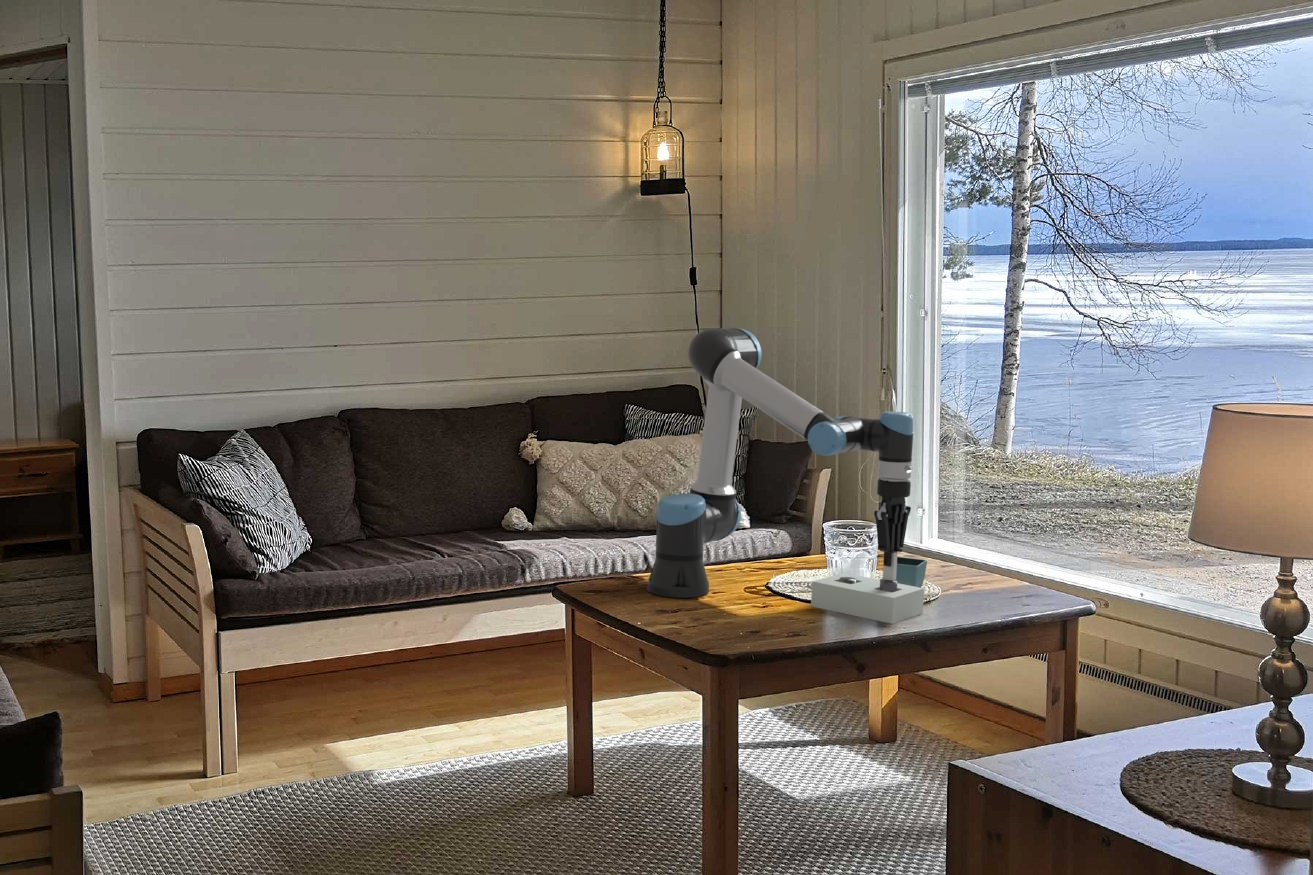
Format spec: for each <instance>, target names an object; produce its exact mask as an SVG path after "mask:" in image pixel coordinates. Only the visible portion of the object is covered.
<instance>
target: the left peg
mask: <svg viewBox="0 0 1313 875" xmlns="http://www.w3.org/2000/svg"><path fill="white" fill-rule="evenodd" d="M839 582H842V583H847V584H854V583H856V579H855V578H852V577H841V578H840V579H839Z"/></svg>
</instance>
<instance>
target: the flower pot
mask: <svg viewBox="0 0 1313 875" xmlns="http://www.w3.org/2000/svg"><path fill="white" fill-rule="evenodd" d="M927 564H928V559H922V558H911V557H904V556H903V557H902V556H897V572H896V580H897V583H899V584H904V585H909V586H914V587H919V588H922V586H923V584H924V580H925V578H926V570H927Z"/></svg>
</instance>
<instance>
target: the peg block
mask: <svg viewBox="0 0 1313 875" xmlns="http://www.w3.org/2000/svg"><path fill="white" fill-rule="evenodd" d="M841 577H852V578H855V579H856V583H854V584H847V583H842V582H839V579H840V578H841ZM924 598H925V588H924V587H921V588H919V587H914V586H909V585H904V584H899V583H897V591H896V592H887V591H882V590H880V579H877V578H873V577H868V576H863V575H858V574H857V575H856V574H851V573H847V572H842V573H838V574H834V575H829V576H827V577H824V578H820V579H819V578H818V579H816V580H813V581H812V582H811V599H810V600H811V601H810V607H814V608H817V609H818V608H819V609H822V610H826V611H827V610H828V611H831V612H835V613H836V612H837V613H842V614H845V615H850V616H853V617H859V618H864V619H869V620H874V621H878V622H881V623H886V624H892V625H893V624H895V623H896V624H897V623H900V622H902V621H905V620H907V619H911V618H913V617H916V616H918V615H922V614H923V613H924V601H925V600H924Z"/></svg>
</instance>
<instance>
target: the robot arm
mask: <svg viewBox="0 0 1313 875" xmlns="http://www.w3.org/2000/svg"><path fill="white" fill-rule="evenodd" d="M687 353H688V354H687V355H688V357H687V358H688V360H689V363H690V366H691V367H692V368H693V371H695V372H696V373H697V374H698V375H700V376H701V377H702V378H703V381H704V383H706V385H707V386H708V391H707V398H706V399H707V400H706V407H705V416H704V423H703V424H704V425H703V433H702V440H701V450H700V457H699V464H698V465H699V466H698V473H697V479H696V481H695V482H693V483H692V484H691V485H690V488H689V490H690V491H689V493H688V492H687V493H684V492H683V493H678V494H676V493H674V494H670V495H666V496H664V497H662V498H661V499H660V500H659V501H658V503H657V508H656V509H657V510H656V514H655V517H656V536H655V540H656V541H655V559H654V563H653V564H652V565H653V566H652V568H651V571H650V574H649V577H648V580H647V589H646V590H647V591H648V593H650V594H653V595H656V596H660V597H666V598H681V599H685V598H687V599H690V598H698V597H703V596H706V595H708V594H709V592H710V581H709V580H708V577H707V576H708V575H707V571H706V568H705V564H704V544H707V543H713V542H718V541H721V540H723V539H726V538H727V537H730V536H731V535H732V534H733V533H734V532H735V531H736V530H737V528H738V527H739V525H740V524H741V518H742V509H741V506H740V504H739V503H738V499H737V498H736V497H737V490H736V488H734V486H733V485H732V481H733V480H732V479H733V473H734V465H735V458H736V450H737V440H738V434H739V424H740V419H741V417H740V416H741V409H742V400H745V401H746V402H747V403H749V404H751V405H752V406H754V407H755V408H757V409H759V410H760V411H762V412H763V413H764V414H766V415H767V416H769V417H770V418H772V419H774V420H775V421H777V422H778V423H779V424H781V425H782V426H784V427H786V428H787V429H788V430H790V431H792V432H793V433H794V434H796V435H798V436H799V437H801V438H802V439H804V440H805V441H807V444H808V446H809V447H810V449H811V450H812V452H814V453H815V454H816V455H820V456H825V457H826V456H827V457H831V456H836V455H838V454H842V453H847V452H854V451H867V452H874V453H875V452H878V465H877V466H878V467H877V477H878V478H879V479H877V486H876V489H877V491H876V494H877V496H880V497H881V502H880V505H879V506H880V508H879V510H874V514H873V515H874V518H875V519H874V520H875V524H876V535H877V536H876V537H877V546H878V547H877V548H878V550H879V552H883V565H882V566H883V567H882V579H886V580H891V581H894V580H896V572H897V557H898V552H899V553H902V552H903V548H904V546H905V544H904V543H905V540H906V539H905V537H906V533H907V528H908V520H909V516H910V514H911V510H912V507H911V506H908V505H906V498H908V497H910V496H911V487H912V486H911V485H912V484H911V483H912V482H911V480H910V479H911V478H912V470H913V467H912V460H913V444H914V443H913V442H914V434H915V432H914V417H913V415H912V414H911V413H910V412H905V411H894V410H893V411H883V412H881V414H880V418H879V419H875V418H874V419H873V418H864V417H863V418H862V417H854V416H851V415H850V416H849V415H847V416H836V417H832V416H830V415H829V414H827V413H825V412H824V411H823V410H822V409H819V408H818V407H817V406H815V405H814V404H812V403H810V402H809V401H807V400H805V399H804V398H802V397H801V396H799V395H798V394H796V393H795V392H794V391H791V389H788V388H787V387H786V386H784V385H782V384H781V383H780V382H778V381H777V380H774V379H773V378H771V377H770V376H769V375H767V374H765V373H764V372H762V371H761V370H760V369H758V368H759V365H760V363H761V361H762V353H763V352H762V346H761V345H760V341H759V340H758V339H757V337H756V336H755V335H754V334H753V333H752V332H750V331H748V330H746V329H744V328H738V327H723V328H721V327H720V328H714V327H712V328H706V329H703V330H701V331H700V332H698V333H696V335H695V336H693V337H692V339H691V341H690V343H689V346H688V350H687Z"/></svg>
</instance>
